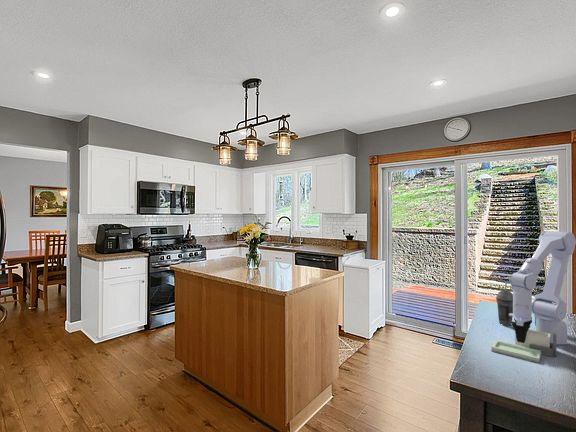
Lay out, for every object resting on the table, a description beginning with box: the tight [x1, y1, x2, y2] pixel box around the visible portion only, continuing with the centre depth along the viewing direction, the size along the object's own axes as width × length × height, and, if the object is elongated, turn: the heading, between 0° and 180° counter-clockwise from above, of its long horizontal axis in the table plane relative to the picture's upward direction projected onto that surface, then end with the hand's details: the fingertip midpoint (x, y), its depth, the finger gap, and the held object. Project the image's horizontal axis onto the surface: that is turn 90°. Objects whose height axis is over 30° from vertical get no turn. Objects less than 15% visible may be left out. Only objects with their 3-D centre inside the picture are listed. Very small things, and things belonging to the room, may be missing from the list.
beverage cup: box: [495, 281, 513, 327], centre depth 142 cm, size 7×7×20 cm
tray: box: [491, 340, 542, 364], centre depth 112 cm, size 14×9×2 cm, turn 48°
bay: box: [530, 328, 557, 358], centre depth 114 cm, size 7×8×8 cm
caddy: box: [514, 329, 550, 348], centre depth 116 cm, size 10×5×6 cm, turn 48°
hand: (521, 339), depth 119 cm, fingers closed on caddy, 5 cm apart
